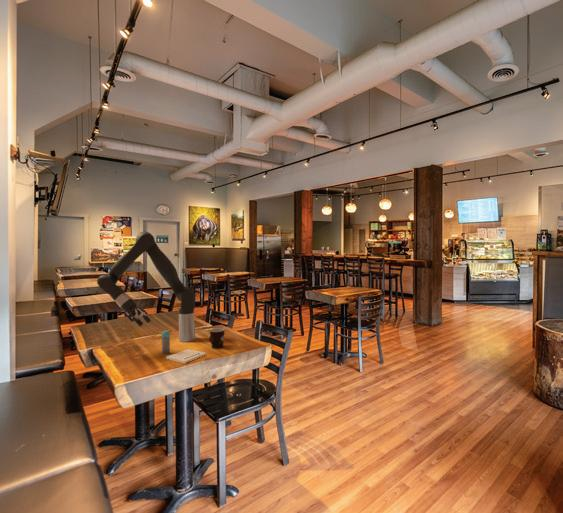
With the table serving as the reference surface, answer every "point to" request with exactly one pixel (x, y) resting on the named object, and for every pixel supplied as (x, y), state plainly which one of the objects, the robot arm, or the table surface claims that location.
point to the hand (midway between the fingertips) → (145, 323)
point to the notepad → (185, 356)
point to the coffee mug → (217, 338)
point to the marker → (165, 342)
